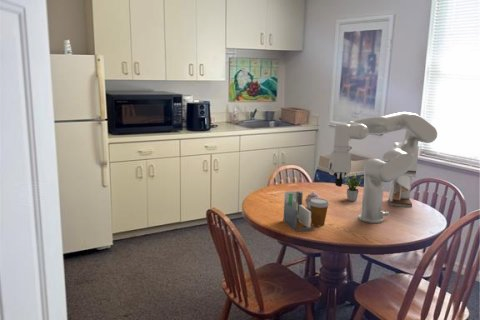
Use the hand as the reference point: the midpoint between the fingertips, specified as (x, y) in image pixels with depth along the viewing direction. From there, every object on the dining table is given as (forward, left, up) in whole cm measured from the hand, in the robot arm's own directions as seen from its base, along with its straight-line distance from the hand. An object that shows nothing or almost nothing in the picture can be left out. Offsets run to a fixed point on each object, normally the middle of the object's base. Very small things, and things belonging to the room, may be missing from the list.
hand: (338, 185), depth 200 cm
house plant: (-29, -31, -19) cm, 47 cm away
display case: (-53, -20, -19) cm, 60 cm away
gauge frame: (+20, 0, -19) cm, 28 cm away
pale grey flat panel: (+17, 0, -19) cm, 26 cm away
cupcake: (+2, -22, -19) cm, 29 cm away
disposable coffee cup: (+10, 0, -19) cm, 22 cm away
